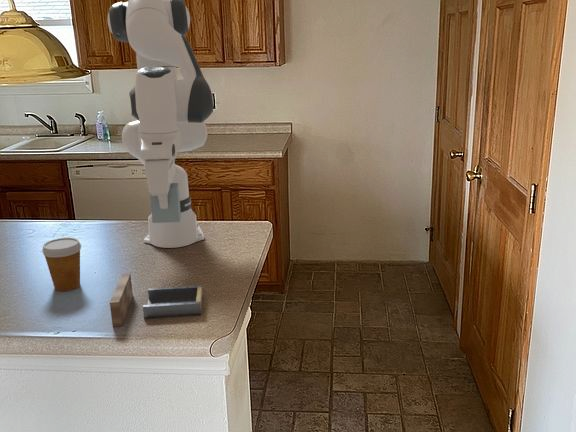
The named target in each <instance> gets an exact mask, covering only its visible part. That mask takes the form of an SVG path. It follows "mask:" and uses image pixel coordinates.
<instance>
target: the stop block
mask: <svg viewBox="0 0 576 432" xmlns="http://www.w3.org/2000/svg"><path fill="white" fill-rule="evenodd" d="M167 195H168V208H167V209H161V208H160V204H159V199H158V196H152V195H151V194H150V193H149V202H150V210H151V212H150V213H151V214H152V222H153V223H165V222H180V218H181V210H180V197H179V185H178V183H171V186H170V189H169V192H168V194H167Z"/></svg>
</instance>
